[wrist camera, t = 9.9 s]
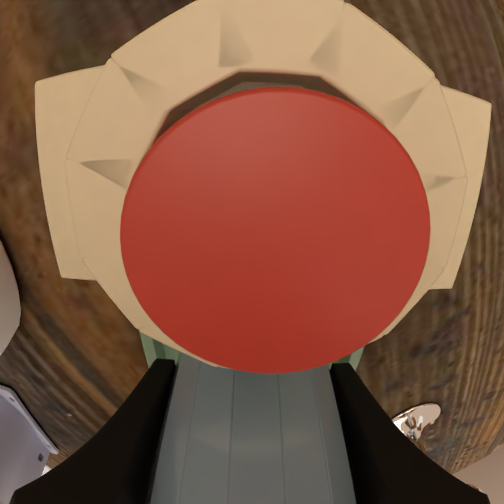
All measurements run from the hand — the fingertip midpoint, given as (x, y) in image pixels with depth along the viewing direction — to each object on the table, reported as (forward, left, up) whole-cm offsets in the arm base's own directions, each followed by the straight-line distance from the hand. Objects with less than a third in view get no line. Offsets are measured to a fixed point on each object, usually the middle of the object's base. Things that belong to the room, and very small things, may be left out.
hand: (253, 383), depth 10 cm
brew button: (+7, 0, +3) cm, 8 cm away
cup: (0, 0, -2) cm, 2 cm away
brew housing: (+7, 0, -3) cm, 8 cm away
